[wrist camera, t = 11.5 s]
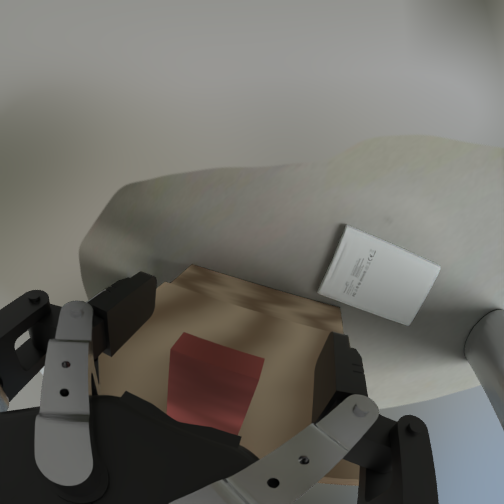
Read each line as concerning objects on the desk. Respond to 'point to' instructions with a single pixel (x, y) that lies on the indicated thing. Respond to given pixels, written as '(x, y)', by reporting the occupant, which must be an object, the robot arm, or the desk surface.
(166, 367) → the lid
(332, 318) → the mailer base
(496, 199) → the desk surface
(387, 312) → the external hard drive
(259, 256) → the desk surface
